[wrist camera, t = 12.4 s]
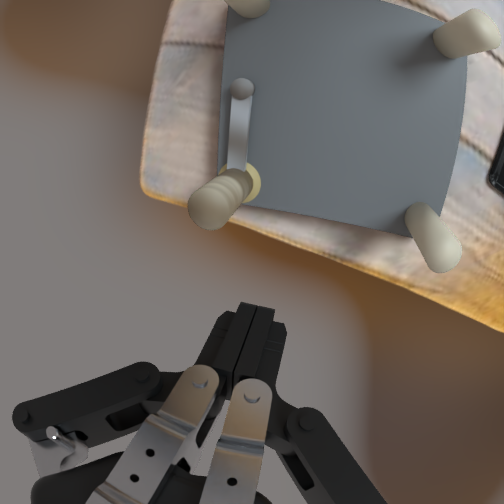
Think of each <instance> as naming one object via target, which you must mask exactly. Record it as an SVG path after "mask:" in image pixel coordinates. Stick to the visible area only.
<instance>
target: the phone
mask: <svg viewBox="0 0 504 504" xmlns="http://www.w3.org/2000/svg"><path fill="white" fill-rule="evenodd" d="M489 181H490V183H491V184H492V185H493V186H494V187H496V188H497V189H498V190H499V191H501V192H502V193H503V194H504V133H503V136H502V139H501V142H500V146H499V148H498V151H497V154H496V157H495V160H494V163H493V165H492V168H491V170H490V173H489Z"/></svg>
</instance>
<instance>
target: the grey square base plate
mask: <svg viewBox="0 0 504 504" xmlns="http://www.w3.org/2000/svg"><path fill="white" fill-rule="evenodd" d="M224 1H225V2H226V3H227V4H228V14H227V24H226V35H225V46H224V58H223V71H222V85H221V100H220V118H219V138H218V164H217V176H218V175H219V174H221V173H222V172H224V171H225V170H227V160H228V144H229V129H230V115H231V102H232V95H231V93H230V86H231V84H232V82H233V81H234V80H236V79H238V78H245V79H248V80H250V81H251V82H252V83H253V84H254V86H255V92H254V94H253V96H252V106H251V117H250V129H249V140H248V152H247V164H246V170H247V171H248V172H249V173H250V175H251V177H252V179H253V189H252V191H251V193H250V194H249V195H248V197H247V198H246V199H245V200H244V201H243V203H242V204H243V205H249V206H256V207H262V208H268V209H274V210H279V211H285V212H291V213H296V214H302V215H307V216H313V217H318V218H323V219H328V220H333V221H338V222H343V223H348V224H353V225H358V226H362V227H367V228H372V229H376V230H381V231H385V232H389V233H394V234H398V235H402V236H407V237H411V238H413V239H414V240H415V242H416V244H417V246H418V248H419V250H420V251H421V253H422V255H423V257H424V259H425V261H426V263H427V265H428V267H429V268H430V269H431V270H432V271H433V272H436V273H445V272H448V271H450V270H451V269H453V268H454V267H455V266H456V265H457V264H458V262H459V260H460V258H461V254H462V247H461V244H460V242H459V240H458V239H457V238H456V236H455V235H454V234H453V233H452V231H451V230H450V229H449V228H448V227H447V225H446V224H445V223H444V222H443V221H442V219H441V218H440V214H441V211H442V208H443V204H444V201H445V198H446V194H447V191H448V187H449V183H450V179H451V175H452V171H453V167H454V163H455V158H456V153H457V149H458V143H459V138H460V132H461V126H462V119H463V111H464V103H465V93H466V79H467V55H471V54H475V53H479V52H483V51H488V50H492V49H496V48H498V47H499V46H500V44H501V35H500V32H499V29H498V27H497V26H496V24H495V23H494V21H493V20H492V19H491V18H490V17H489V16H488V15H487V14H486V13H484V12H483V11H481V10H478V9H470V10H468V11H467V12H465V13H463V14H461V15H459V16H458V17H456V18H454V19H452V20H451V21H449V22H447V23H444V22H441V21H439V20H437V19H434V18H432V17H429V16H427V15H424V14H421V13H419V12H416V11H413V10H410V9H407V8H404V7H401V6H398V5H395V4H391V3H388V2H384V1H380V0H224Z"/></svg>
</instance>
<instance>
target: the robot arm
mask: <svg viewBox="0 0 504 504" xmlns="http://www.w3.org/2000/svg"><path fill="white" fill-rule="evenodd" d="M274 313H275V309H271V308H267V307H262V306H257V305H253V304H248V303H244V302H241V303H240V305H239V307H238V309H237V312H236V313H235V312H230V311H226V312H224V313H223V314H222V315H221V316H220V317H218V319H217V321H216V323H215V325H214V328H213V329H212V331H211V333H210V336H209V337H208V339H207V341H206V343H205V345H204V347H203V349H202V351H201V353H200V355H199V357H198V359H197V361H196V363H195V364H194V365H193V366H192V367H189V368H187V369H186V370H185V371H182V372H176V373H175V372H159V370H158V368H157V367H156V366H155V365H153V364H151V363H148V362H137V363H134V364H132V365H129V366H127V367H124V368H122V369H119V370H117V371H114V372H111V373H109V374H106V375H103V376H100V377H98V378H95V379H92V380H90V381H87V382H84V383H81V384H78V385H76V386H73V387H70V388H67V389H64V390H61V391H58V392H55V393H52V394H48V395H46V396H42V397H39V398H36V399H33V400H29V401H26V402H22V403H20V404H18V405H17V406H16V407H15V409H14V411H13V415H12V420H13V423H14V426H15V427H16V429H18V430H19V431H20V432H21V433H23V434H24V435H25V436H27V437H28V439H29V442H30V446H31V450H32V454H33V457H34V460H35V463H36V466H37V470H38V473H39V476H40V479H39V480H38V481H36V482H35V484H34V485H33V488H32V490H31V504H272V503H271V502H270V501H269V500H268V499H267V498H266V497H265V496H263V495H262V494H261V493H259V492H257V491H256V489H257V485H258V480H259V475H260V470H261V465H262V459H263V453H264V444H265V445H267V446H269V447H270V448H272V449H274V450H275V451H276V453H277V454H278V456H279V458H280V460H281V461H282V463H283V465H284V466H285V468H286V470H287V472H288V473H289V475H290V476H291V478H292V480H293V481H294V483H295V485H296V486H297V488H298V489H299V491H300V492H301V494H302V496H303V497H304V499H305V500H306V502H307V503H308V504H387V503H386V501H385V500H384V499H383V497H382V496H381V495H380V493H379V492H378V491H377V489H376V488H375V487H374V485H373V484H372V483H371V481H370V480H369V479H368V477H367V476H366V474H365V473H364V472H363V470H362V469H361V468H360V466H359V465H358V463H357V462H356V461H355V460H354V458H353V457H352V455H351V454H350V452H349V451H348V449H347V448H346V447H345V445H344V444H343V442H342V441H341V440H340V438H339V437H338V436H337V434H336V432H335V431H334V430H333V428H332V427H331V425H330V424H329V422H328V421H327V419H326V418H325V417H324V416H323V414H322V413H321V412H320V411H318V410H316V409H314V408H309V407H303V408H299V409H298V408H296V407H294V406H292V405H290V404H288V403H286V402H285V401H283V400H282V399H281V398H280V397H279V395H278V394H277V391H276V387H275V384H276V379H277V375H278V371H279V367H280V362H281V358H282V354H283V349H284V345H285V340H286V336H287V331H286V328H285V325H284V323H279V322H275V321H273V318H274ZM225 399H226V400H230V404H229V407H228V411H227V415H226V418H225V422H224V426H223V430H222V434H221V436H220V439H219V440H218V442H217V445H216V448H215V451H214V455H213V458H212V462H211V466H210V469H209V472H208V475H207V477H206V476H196V475H192V474H193V472H194V471H195V468H196V467H197V465H198V463H199V460H200V457H201V453H202V449H203V448H204V446H205V444H206V442H207V439H208V438H209V436H210V434H211V432H212V430H213V428H214V426H215V424H216V422H217V420H218V418H219V415H220V412H221V409H222V406H223V404H224V401H225ZM137 430H138V432H137V433H136V435H135V436H134V438H133V439H132V441H131V442H130V444H129V446H128V447H127V448H126V450H125V451H123V452H118V453H114V454H111V455H109V456H106V457H104V458H101V459H98V460H96V461H93V462H90V463H88V464H84V465H81V466H78V467H75V466H76V465H77V464H79V463H81V462H83V461H84V460H86V459H87V458H88V448H91V447H94V446H97V445H100V444H103V443H105V442H108V441H111V440H114V439H117V438H119V437H122V436H125V435H127V434H130V433H132V432H135V431H137Z"/></svg>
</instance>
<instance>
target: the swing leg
mask: <svg viewBox="0 0 504 504" xmlns="http://www.w3.org/2000/svg"><path fill="white" fill-rule="evenodd" d="M254 92H255V86H254V84H253V83H252V82H251V81H250V80H248V79H245V78H238V79H236V80H234V81H233V82H232V84H231V86H230V93H231V95H232V102H231V115H230V129H229V144H228V160H227V170H225V171H224V172H222V173H221V174H219V175H218V176H216V177H215V178H214V179H212V180H211V181H209V182H208V183H206V184H205V185H204V186H202V187H201V188H199V189H198V190H197V191H195V192H194V193H193V194H192V195H191V196H190V198H189V201H188V212H189V215H190V217H191V219H192V220H193V221H194V223H195V224H197V225H198V226H199V227H201V228H203V229H206V230H216V229H219V228H221V227H222V226H223V225H224V224H225V223H226V222H227V221H228V220H229V218H230V217H231V216H232V215H233V213H234V212H235V211H236V210H237V209H238V207H239V206H240V205H241V204H242V203H243V201H244V200H245V199H246V198H247V197H248V195H249V194H250V193H251V191H252V189H253V179H252V177H251V175H250V173H249V172H248V171H247V170H246V164H247V152H248V140H249V129H250V117H251V106H252V96H253V94H254Z"/></svg>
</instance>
